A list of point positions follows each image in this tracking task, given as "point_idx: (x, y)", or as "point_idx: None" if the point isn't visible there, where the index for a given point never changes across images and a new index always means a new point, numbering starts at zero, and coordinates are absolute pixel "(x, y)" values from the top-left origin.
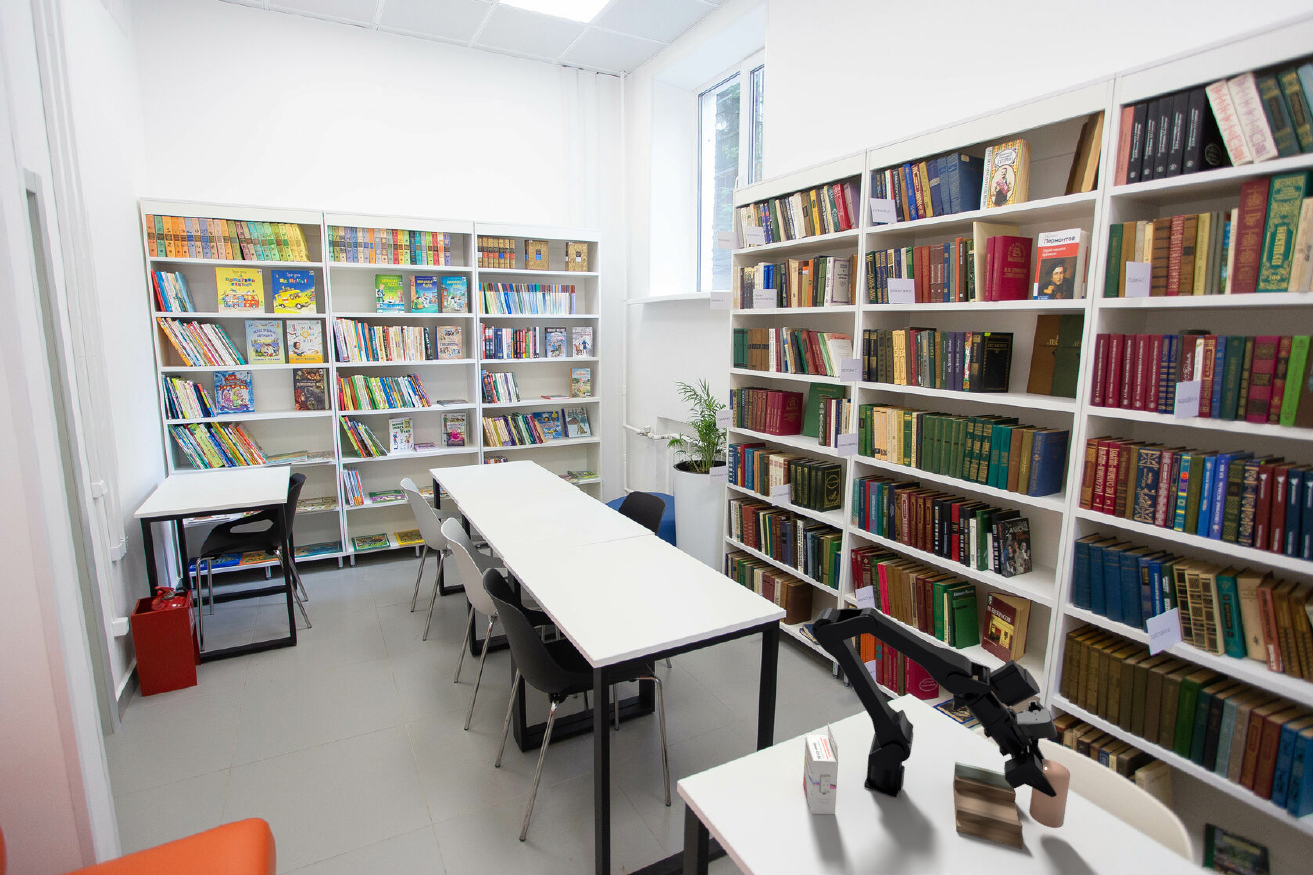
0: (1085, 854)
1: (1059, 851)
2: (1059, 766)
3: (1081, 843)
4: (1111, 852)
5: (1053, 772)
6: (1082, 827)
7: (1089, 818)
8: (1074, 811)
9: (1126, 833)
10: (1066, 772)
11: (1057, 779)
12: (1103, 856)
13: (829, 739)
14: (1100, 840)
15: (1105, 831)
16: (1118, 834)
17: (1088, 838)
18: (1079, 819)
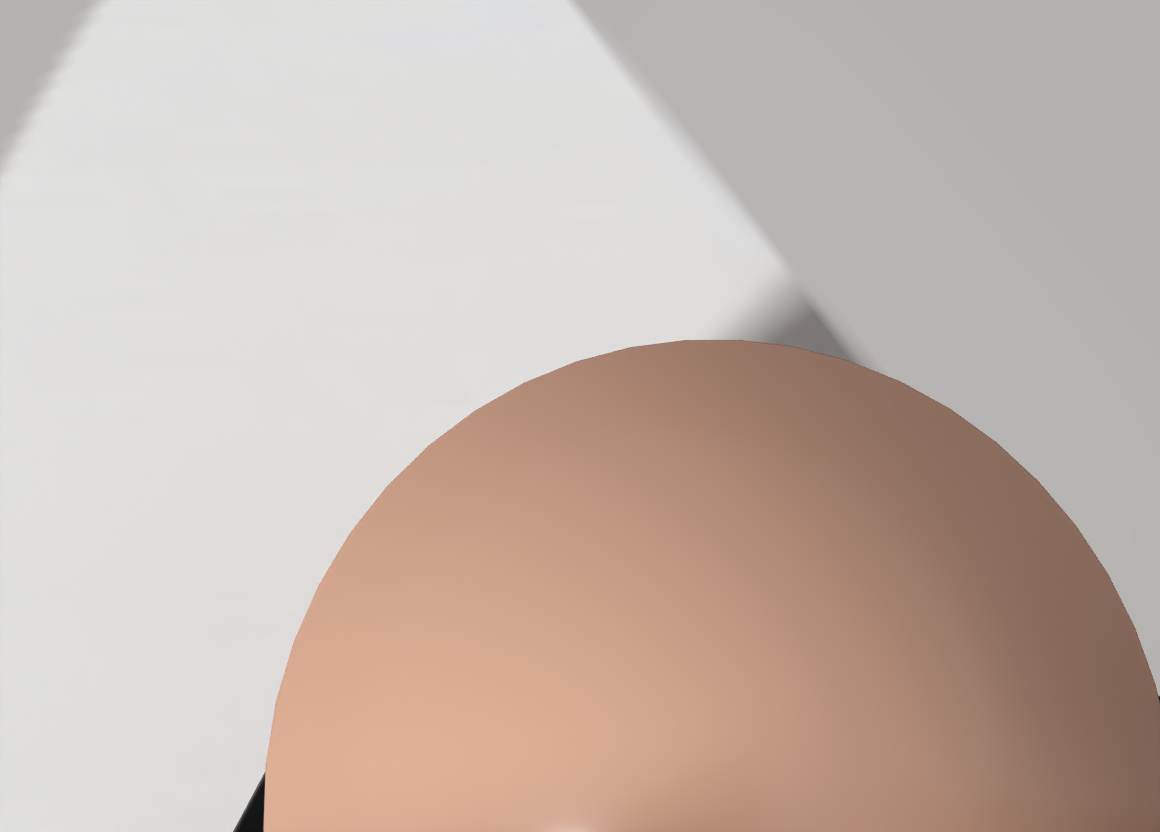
0: (670, 316)
1: None
2: (467, 624)
3: (534, 353)
4: (493, 128)
5: (897, 741)
6: (276, 358)
7: (82, 307)
8: (48, 440)
9: (122, 18)
10: (646, 433)
11: (1123, 612)
12: (594, 184)
13: None
14: (377, 210)
15: (207, 175)
16: (182, 77)
17: (416, 303)
18: (159, 389)
